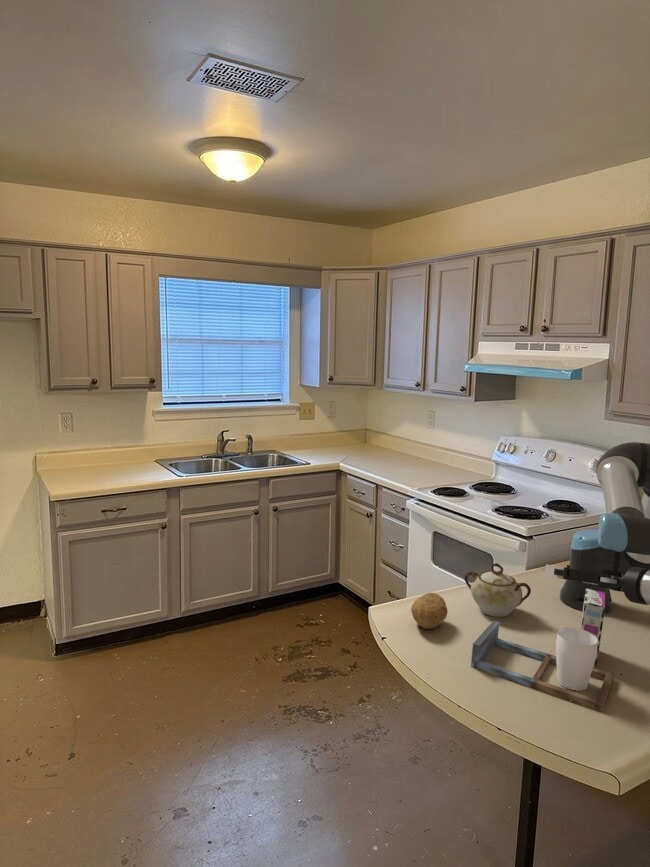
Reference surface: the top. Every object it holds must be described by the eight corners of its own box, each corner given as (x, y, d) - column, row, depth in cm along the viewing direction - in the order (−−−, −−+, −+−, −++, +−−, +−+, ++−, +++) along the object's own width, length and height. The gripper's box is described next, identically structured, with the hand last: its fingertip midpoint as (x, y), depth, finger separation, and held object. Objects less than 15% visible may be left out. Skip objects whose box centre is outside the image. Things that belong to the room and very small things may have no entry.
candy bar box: (597, 669, 148) (605, 607, 145) (576, 664, 150) (583, 602, 148) (598, 649, 158) (605, 591, 156) (578, 645, 160) (585, 587, 158)
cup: (596, 697, 136) (603, 648, 134) (555, 690, 137) (560, 642, 136) (587, 676, 144) (593, 630, 143) (548, 670, 146) (554, 624, 144)
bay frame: (613, 680, 143) (616, 656, 142) (602, 711, 130) (605, 686, 129) (491, 641, 159) (493, 620, 158) (470, 666, 146) (472, 643, 145)
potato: (403, 631, 163) (405, 603, 162) (418, 612, 175) (420, 586, 174) (438, 640, 159) (440, 612, 157) (450, 620, 171) (453, 593, 170)
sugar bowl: (454, 611, 177) (458, 563, 175) (469, 594, 190) (473, 549, 188) (521, 629, 167) (527, 579, 165) (533, 611, 180) (538, 564, 178)
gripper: (610, 599, 118) (527, 583, 137) (683, 610, 130) (597, 594, 148) (613, 561, 120) (531, 551, 138) (685, 575, 131) (600, 564, 150)
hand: (565, 573), depth 143 cm, fingers open, 13 cm apart
